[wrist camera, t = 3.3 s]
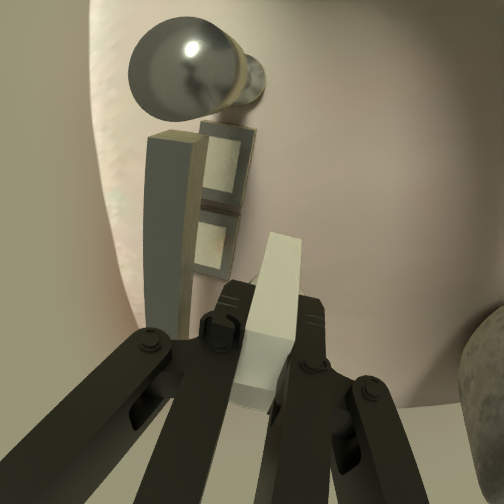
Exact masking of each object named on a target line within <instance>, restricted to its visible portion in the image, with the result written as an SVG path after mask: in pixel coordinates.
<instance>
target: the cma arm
mask: <svg viewBox="0 0 504 504" xmlns="http://www.w3.org/2000/svg"><path fill="white" fill-rule="evenodd" d="M247 72H248V67H247V60H246V57H245V54H244V52H243V50H242V48H241V47H240V45H239V44H238V43H237V42H236V41H235V40H234V39H233V38H232V37H230V36H229V35H228V34H226V33H225V32H223V31H222V30H221V29H219V28H218V27H216V26H215V25H214V24H212V23H210V22H208V21H206V20H203V19H200V18H196V17H177V18H172V19H169V20H166V21H164V22H162V23H160V24H158V25H156V26H155V27H153V28H152V29H151V30H149V31H148V32H147V33H146V34H145V35H144V36H143V37H142V38H141V40H140V41H139V42H138V44H137V45H136V47H135V49H134V51H133V53H132V56H131V59H130V63H129V70H128V80H129V86H130V89H131V92H132V94H133V97H134V98H135V100H136V102H137V103H138V104H139V106H140V107H141V108H142V109H143V110H144V111H146V112H147V113H148V114H150V115H151V116H153V117H155V118H158V119H161V120H164V121H169V122H181V121H187V120H192V119H196V118H199V117H203V116H208V115H211V114H215V113H217V112H220V111H222V110H224V109H225V108H227V107H228V106H229V105H231V104H232V103H233V102H234V101H235V100H236V99H237V97H238V96H239V95H240V93H241V92H242V90H243V88H244V85H245V83H246V79H247ZM209 137H210V135H205V134H199V133H192V132H185V131H178V130H168V131H165V132H161V133H158V134H156V135H153V136H150V137H148V141H147V153H146V167H145V185H144V213H143V270H144V299H145V317H146V327H152V328H157V329H160V330H163V331H164V332H165V333H167V334H168V335H169V337H170V339H171V340H188V339H189V323H190V308H191V295H192V283H193V271H194V260H195V250H196V240H197V230H198V221H199V212H200V204H201V195H202V187H203V180H204V172H205V165H206V157H207V150H208V144H209Z"/></svg>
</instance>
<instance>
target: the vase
mask: <svg viewBox="0 0 504 504" xmlns="http://www.w3.org/2000/svg"><path fill="white" fill-rule="evenodd" d="M458 387H459V395H460V401H461V406H462V411H463V416H464V421H465V426H466V430H467V434H468V439H469V444H470V448H471V453H472V457H473V462H474V466H475V470H476V475H477V478H478V483H479V486H480V488H481V491H482V494H483V496H484V498H485V499H486V501H487V502H488V503H489V504H504V305H503V306H501V307H499V308H498V309H497V310H496V311H494V312H493V313H492V314H491V315H489V316H488V317H487V318H486V319H485V320H484V321H483V322H482V323H481V324H480V326H479V327H478V328H477V329H476V331H475V332H474V333H473V335H472V336H471V337H470V339H469V341H468V342H467V344H466V346H465V348H464V350H463V352H462V355H461V359H460V362H459V367H458Z"/></svg>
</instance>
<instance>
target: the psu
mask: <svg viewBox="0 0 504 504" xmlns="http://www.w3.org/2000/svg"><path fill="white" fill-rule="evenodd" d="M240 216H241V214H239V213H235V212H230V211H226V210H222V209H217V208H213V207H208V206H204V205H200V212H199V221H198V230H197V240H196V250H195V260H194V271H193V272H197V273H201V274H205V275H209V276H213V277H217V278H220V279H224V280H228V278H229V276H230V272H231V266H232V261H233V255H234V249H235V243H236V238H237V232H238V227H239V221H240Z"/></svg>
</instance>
